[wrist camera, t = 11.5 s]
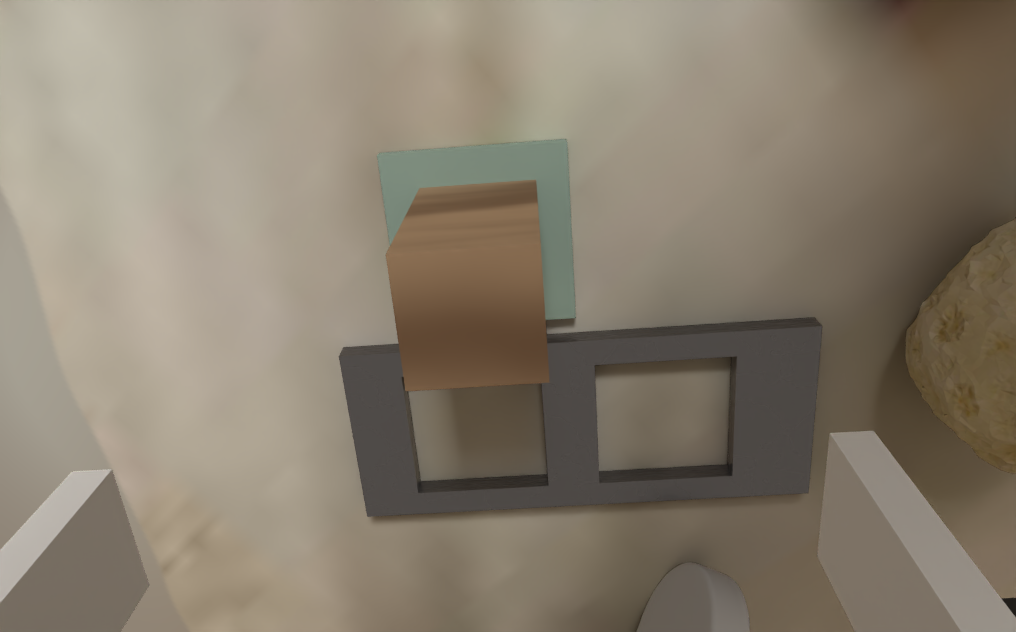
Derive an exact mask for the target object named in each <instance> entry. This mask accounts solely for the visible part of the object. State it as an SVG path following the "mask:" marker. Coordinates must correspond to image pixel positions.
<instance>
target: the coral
mask: <svg viewBox="0 0 1016 632" xmlns="http://www.w3.org/2000/svg"><path fill="white" fill-rule="evenodd" d="M905 359H906V364H907V367H908V370H909V374H910V377H911V378H913V379H914V382H915V384H916V387H917V388H918V390H919V391H920V392H921V397H922V398H923V399H924V400H925V401H926V402H927V403H928V404H929V406H930V408H931V409H932V412H933V413H934V414H935V415H936V416H937V417H938V418H939V419H940V420H941V421H942V422H944V423H945V424H946V425H947V426H948V427H950V428H951V429H952V430H953V431H954V432H955V433H956V434H957V436H958V437H959V438H960V439H962V440H963V441H965V442H966V443H967V444H969V445H970V446H971V447H972V449H973V450H974V452H975V453H976V454H977V456H978V457H980V458H981V459H983V460H984V461H986V462H988V463H989V464H991V465H993V466H994V467H996V468H998V469H1000V470H1002V471H1006V472H1009V473H1013V474H1016V218H1015V219H1014V220H1012V221H1010V222H1008V223H1006V224H1004V225H1002V226H1000V227H997V228H995V229H993V230H991V231H990V233H989V234H988V236H987V237H985V238H984V239H983V240H982V241H981V242H979V243H977V244H976V245H974V246H972V247H971V249H970V251H969V252H968V254H967V255H966V256H965V257H964V258H963V259H962V260H961V261H960V262H959V263H958V264H957V265H956V266H955V267H954V268H953V269H952V270H951V271H949V272H948V273H947V276H946V278H944V279H943V280H942V282H941V283H940V284H939V285H938V286H937V287H936V288H935V289H934V291H933V292H932V293H931V295H930V296H929V297H928V298H927V300H925V301H924V302H923V303H922V305H921V307H920V309H919V314H918V317H917V318H916V320H915V321H914V322H913V323H912V325H911V326H910V327H909V328H908V329H907V332H906V354H905Z"/></svg>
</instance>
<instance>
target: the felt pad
mask: <svg viewBox="0 0 1016 632" xmlns="http://www.w3.org/2000/svg"><path fill="white" fill-rule="evenodd" d="M377 158H378V165H379V172H380V179H381V186H382V193H383V200H384V207H385V215H386V222H387V229H388V236H389V243H390V245H391V243H392V241H393V239H394V237H395V235H396V233H397V231H398V229H399V227H400V225H401V223H402V221H403V220H404V218H405V216H406V214H407V212H408V210H409V208H410V206H411V204H412V202H413V200H414V198H415V196H416V194H417V192H418V190H419V188H427V187H440V186H454V185H468V184H481V183H495V182H509V181H522V180H536V184H537V198H538V213H539V227H540V242H541V257H542V273H543V288H544V303H545V319H546V320H552V319H568V318H576V314H575V293H574V273H573V252H572V231H571V210H570V190H569V169H568V148H567V139H559V140H546V141H533V142H519V143H506V144H492V145H479V146H466V147H452V148H439V149H426V150H412V151H399V152H386V153H379V154H378V155H377Z"/></svg>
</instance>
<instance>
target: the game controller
mask: <svg viewBox="0 0 1016 632" xmlns="http://www.w3.org/2000/svg"><path fill="white" fill-rule="evenodd" d="M637 632H750V622H749V614H748V608H747V604H746V601H745V598H744V595H743V593H742V591H741V589H740V587H739V586H738V585H737V583H736V582H735V581H734V580H733V579H732V578H730V577H729V576H727V575H725V574H723V573H721V572H718V571H716V570H713V569H710V568H708V567H705V566H703V565H700V564H697V563H691V562H688V563H683V564H680V565H678V566H676V567H675V568H673V569H672V570H671V571H670V572H668V573H667V574H666V575H665V576H664V578H663V579H662V580H661V581H660V583H659V584H658V585H657V587H656V589H655V590H654V592H653V593H652V595H651V597H650V599H649V601H648V603H647V605H646V608H645V610H644V612H643V615H642V618H641V620H640V623H639V626H638V629H637Z"/></svg>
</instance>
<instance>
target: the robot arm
mask: <svg viewBox="0 0 1016 632" xmlns="http://www.w3.org/2000/svg"><path fill="white" fill-rule="evenodd" d="M817 557H818V559H819V561H820V563H821V565H822V567H823V569H824V571H825V573H826V575H827V577H828V579H829V581H830V583H831V585H832V587H833V589H834V591H835V593H836V595H837V597H838V599H839V601H840V603H841V605H842V607H843V609H844V611H845V613H846V615H847V617H848V619H849V621H850V623H851V625H852V627H853V629H854V631H855V632H1016V598H1002V599H1001V597H1000V596H999V595H998V593H997V592H996V591H995V590H994V588H993V587H992V586H991V584H990V583H989V582H988V580H987V579H986V578H985V576H984V575H983V574H982V572H981V571H980V570H979V569H978V567H977V566H976V565H975V563H974V562H973V561H972V559H971V558H970V557H969V555H968V554H967V553H966V551H965V550H964V549H963V548H962V546H961V545H960V544H959V542H958V541H957V540H956V538H955V537H954V536H953V534H952V533H951V532H950V530H949V529H948V528H947V526H946V525H945V524H944V523H943V521H942V520H941V519H940V517H939V516H938V515H937V513H936V512H935V511H934V509H933V508H932V507H931V505H930V504H929V503H928V502H927V500H926V499H925V498H924V496H923V495H922V494H921V492H920V491H919V490H918V488H917V487H916V486H915V484H914V483H913V482H912V481H911V479H910V478H909V477H908V475H907V474H906V473H905V471H904V470H903V469H902V467H901V466H900V465H899V463H898V462H897V461H896V460H895V458H894V457H893V456H892V454H891V453H890V452H889V450H888V449H887V448H886V446H885V445H884V444H883V442H882V441H881V440H880V438H879V437H878V436H877V435H876V433H875V432H874V431H858V432H839V433H830V435H829V445H828V455H827V464H826V474H825V484H824V494H823V504H822V514H821V523H820V533H819V543H818V553H817ZM148 587H149V582H148V579H147V576H146V573H145V570H144V567H143V564H142V561H141V558H140V554H139V551H138V548H137V545H136V542H135V539H134V536H133V533H132V530H131V527H130V523H129V521H128V517H127V514H126V511H125V508H124V505H123V502H122V499H121V496H120V492H119V489H118V486H117V483H116V480H115V477H114V474H113V471H112V469H110V470H91V471H72V472H71V473H70V474H69V476H67V478H66V479H65V480H64V481H63V482H62V483H61V484H60V485H59V486H58V487H57V489H56V490H55V491H54V492H53V493H52V494H51V495H50V496H49V497H48V498H47V499H46V501H45V502H44V503H43V504H42V505H41V506H40V507H39V508H38V509H37V510H36V511H35V513H34V514H33V515H32V516H31V517H30V518H29V519H28V520H27V521H26V522H25V524H24V525H23V526H22V527H21V528H20V529H19V530H18V531H17V532H16V533H15V534H14V536H13V537H12V538H11V539H10V540H9V541H8V542H7V543H6V544H5V545H4V546H3V548H2V549H1V550H0V632H121V631H122V629H123V627H124V626H125V624H126V622H127V621H128V619H129V618H130V616H131V614H132V613H133V611H134V610H135V608H136V606H137V604H138V603H139V601H140V600H141V598H142V597H143V595H144V593H145V592H146V590H147V588H148Z"/></svg>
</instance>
